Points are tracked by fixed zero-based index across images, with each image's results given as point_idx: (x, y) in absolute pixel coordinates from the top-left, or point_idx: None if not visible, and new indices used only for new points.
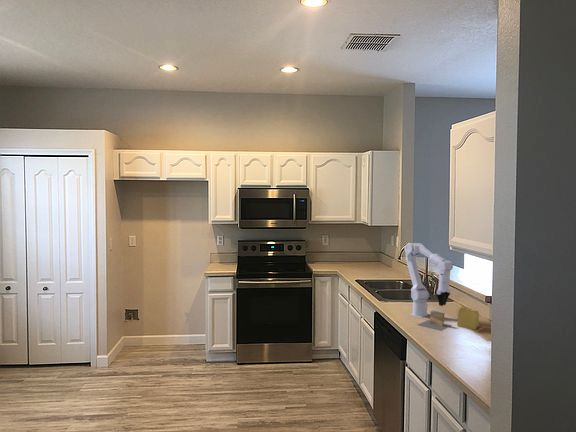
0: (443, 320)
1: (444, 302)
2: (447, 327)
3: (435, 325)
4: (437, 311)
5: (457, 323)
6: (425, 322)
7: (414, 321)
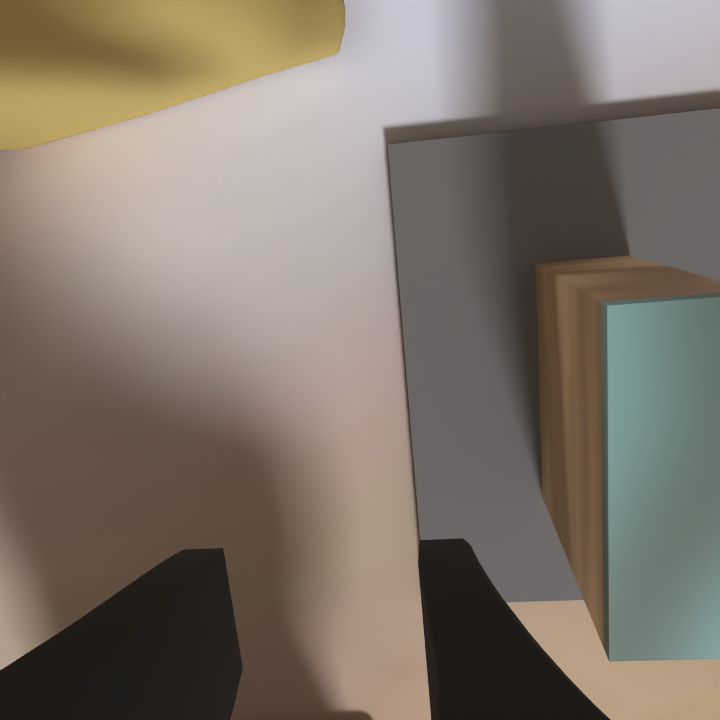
0: (593, 272)
1: (191, 639)
2: (639, 125)
3: None
4: (616, 525)
5: (342, 29)
6: None
7: (700, 714)
